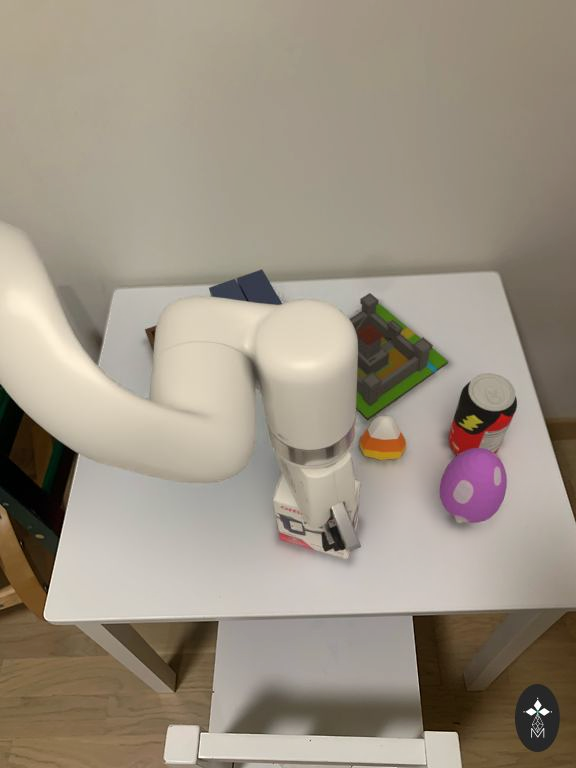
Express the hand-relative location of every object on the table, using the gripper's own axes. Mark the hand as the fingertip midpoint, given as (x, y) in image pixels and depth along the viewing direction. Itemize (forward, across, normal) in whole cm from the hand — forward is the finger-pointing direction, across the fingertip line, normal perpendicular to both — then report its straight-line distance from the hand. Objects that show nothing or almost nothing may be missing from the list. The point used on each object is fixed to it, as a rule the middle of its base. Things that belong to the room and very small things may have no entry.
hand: (317, 504), depth 65 cm
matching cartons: (+7, -32, +4) cm, 33 cm away
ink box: (+8, 0, 0) cm, 8 cm away
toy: (+8, +5, +16) cm, 19 cm away
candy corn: (+8, -7, +12) cm, 16 cm away
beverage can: (+8, -3, +23) cm, 24 cm away
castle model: (+8, -21, +18) cm, 28 cm away
